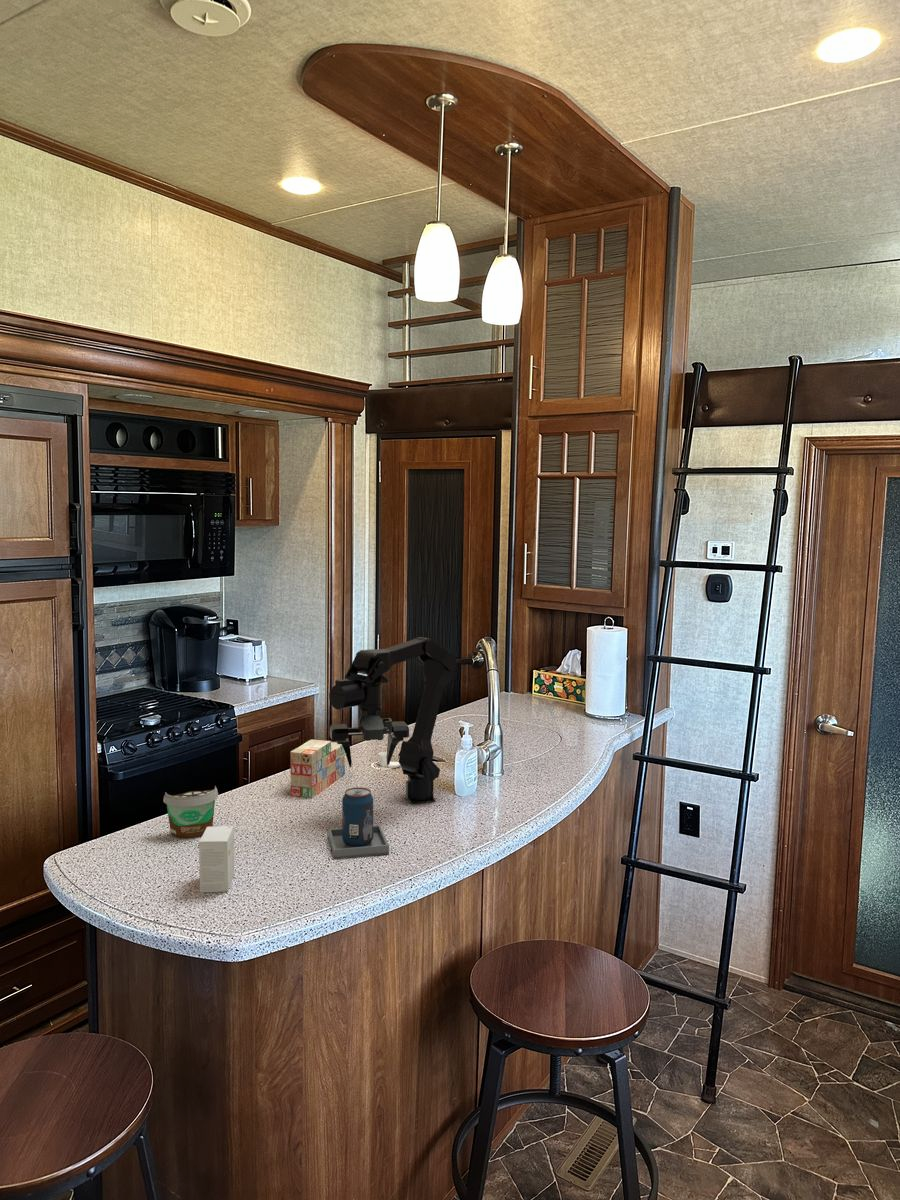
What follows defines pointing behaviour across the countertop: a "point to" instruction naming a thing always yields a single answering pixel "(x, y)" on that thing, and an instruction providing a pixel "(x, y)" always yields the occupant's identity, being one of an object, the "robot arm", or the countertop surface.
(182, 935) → the countertop surface
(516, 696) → the countertop surface
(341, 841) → the tray
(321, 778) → the stack of blocks
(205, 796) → the food container
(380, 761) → the teacup and saucer
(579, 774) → the countertop surface
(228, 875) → the small box
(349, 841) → the soda can
